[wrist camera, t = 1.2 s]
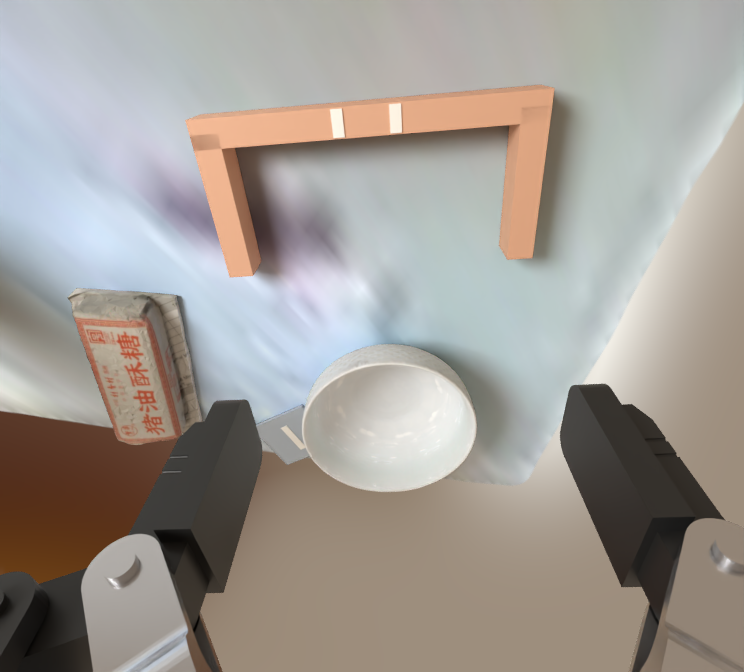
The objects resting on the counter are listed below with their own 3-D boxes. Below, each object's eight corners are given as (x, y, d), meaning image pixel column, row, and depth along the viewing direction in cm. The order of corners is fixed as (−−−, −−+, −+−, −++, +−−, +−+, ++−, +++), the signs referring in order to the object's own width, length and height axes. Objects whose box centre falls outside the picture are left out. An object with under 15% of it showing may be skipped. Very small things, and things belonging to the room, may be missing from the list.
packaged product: (41, 309, 38) (158, 316, 38) (74, 283, 42) (180, 290, 42) (99, 453, 47) (192, 458, 48) (121, 421, 52) (206, 426, 52)
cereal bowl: (458, 443, 52) (467, 494, 46) (317, 442, 52) (309, 493, 46) (475, 320, 42) (489, 365, 37) (303, 320, 43) (290, 364, 37)
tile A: (287, 462, 54) (286, 465, 54) (252, 426, 51) (251, 429, 50) (335, 443, 52) (335, 446, 52) (302, 404, 49) (301, 407, 48)
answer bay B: (522, 243, 38) (532, 258, 35) (239, 262, 39) (229, 277, 37) (540, 84, 31) (555, 88, 29) (200, 114, 33) (185, 120, 30)
